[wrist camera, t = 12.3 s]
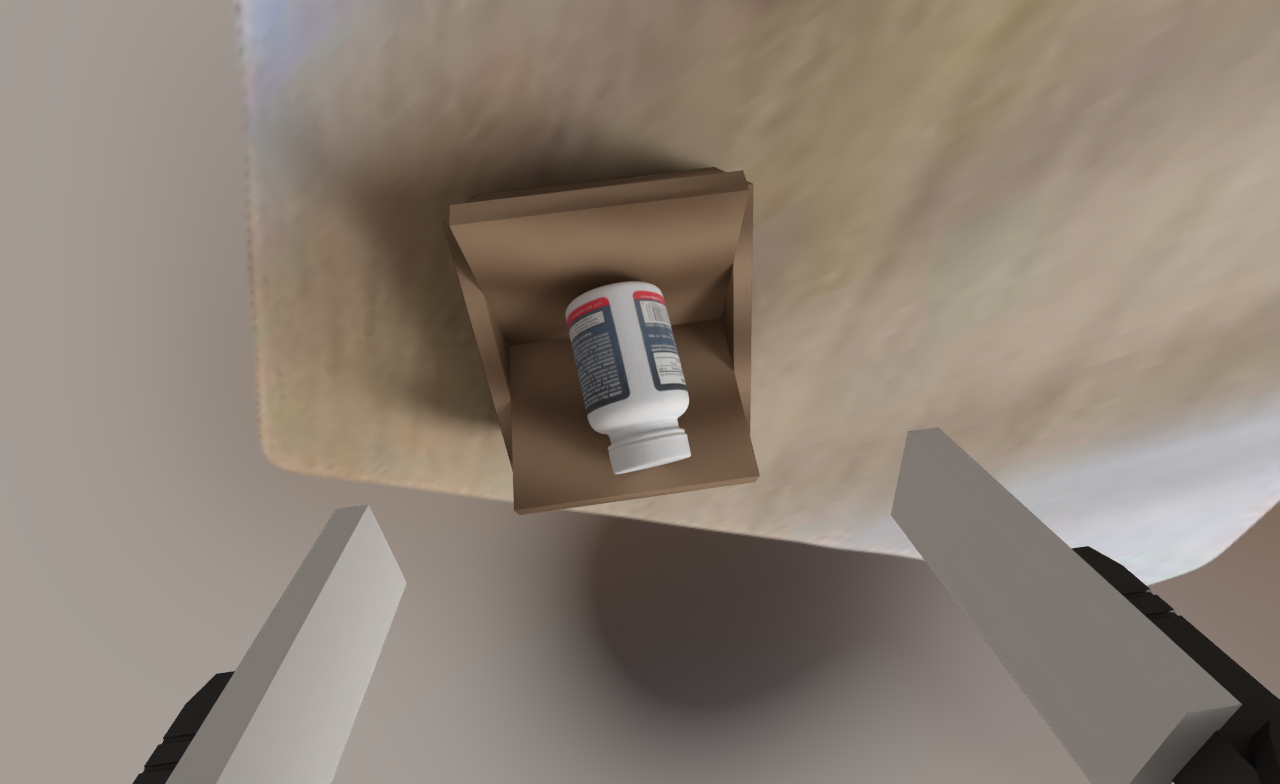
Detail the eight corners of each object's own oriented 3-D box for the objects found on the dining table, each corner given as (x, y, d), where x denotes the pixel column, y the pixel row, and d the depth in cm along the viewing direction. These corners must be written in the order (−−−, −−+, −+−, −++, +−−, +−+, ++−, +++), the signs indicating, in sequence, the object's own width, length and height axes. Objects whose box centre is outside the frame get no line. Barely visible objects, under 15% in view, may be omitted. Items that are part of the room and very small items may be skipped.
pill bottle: (565, 326, 29) (597, 480, 27) (561, 288, 24) (600, 475, 22) (654, 311, 30) (690, 459, 28) (669, 271, 25) (715, 449, 23)
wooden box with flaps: (463, 184, 29) (402, 223, 19) (723, 154, 29) (792, 176, 20) (525, 430, 37) (504, 544, 27) (726, 403, 38) (776, 505, 28)
